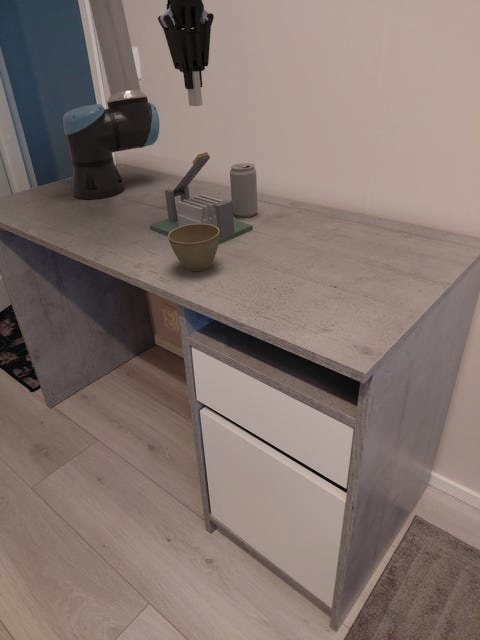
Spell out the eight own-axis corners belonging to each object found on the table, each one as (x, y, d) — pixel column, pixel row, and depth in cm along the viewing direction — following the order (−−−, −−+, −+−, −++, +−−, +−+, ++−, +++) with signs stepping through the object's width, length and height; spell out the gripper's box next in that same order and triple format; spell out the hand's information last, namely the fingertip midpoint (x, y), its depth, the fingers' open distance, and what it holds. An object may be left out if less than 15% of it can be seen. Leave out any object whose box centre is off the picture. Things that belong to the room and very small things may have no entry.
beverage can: (247, 220, 116) (245, 170, 109) (227, 215, 119) (223, 167, 113) (262, 212, 120) (261, 163, 114) (242, 208, 123) (240, 161, 117)
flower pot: (196, 251, 101) (193, 219, 97) (232, 262, 96) (230, 229, 92) (162, 269, 95) (157, 235, 91) (198, 282, 89) (194, 246, 86)
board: (150, 229, 114) (144, 194, 110) (197, 211, 123) (194, 179, 118) (204, 250, 102) (200, 212, 97) (252, 229, 110) (251, 193, 106)
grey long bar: (173, 198, 113) (169, 191, 113) (181, 195, 114) (177, 189, 114) (202, 161, 100) (198, 154, 100) (211, 159, 101) (207, 151, 101)
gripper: (167, -33, 84) (183, 110, 97) (219, -31, 92) (229, 101, 104) (142, -27, 89) (161, 109, 101) (194, -26, 97) (206, 100, 109)
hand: (195, 105), depth 103 cm, fingers closed
